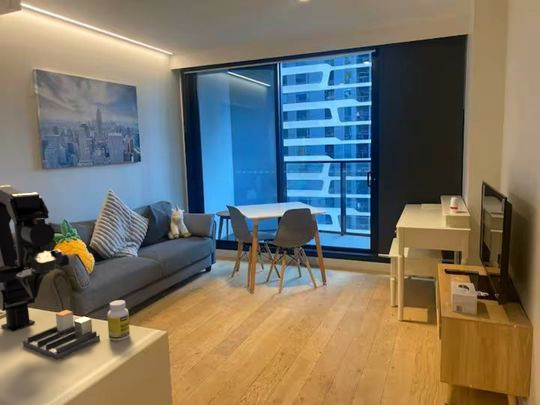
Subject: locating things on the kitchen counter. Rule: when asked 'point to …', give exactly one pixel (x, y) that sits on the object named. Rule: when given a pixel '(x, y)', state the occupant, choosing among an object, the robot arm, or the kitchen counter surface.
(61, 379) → the kitchen counter surface
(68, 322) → the block
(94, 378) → the kitchen counter surface
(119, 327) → the supplement bottle
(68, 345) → the breaker panel
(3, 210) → the robot arm
